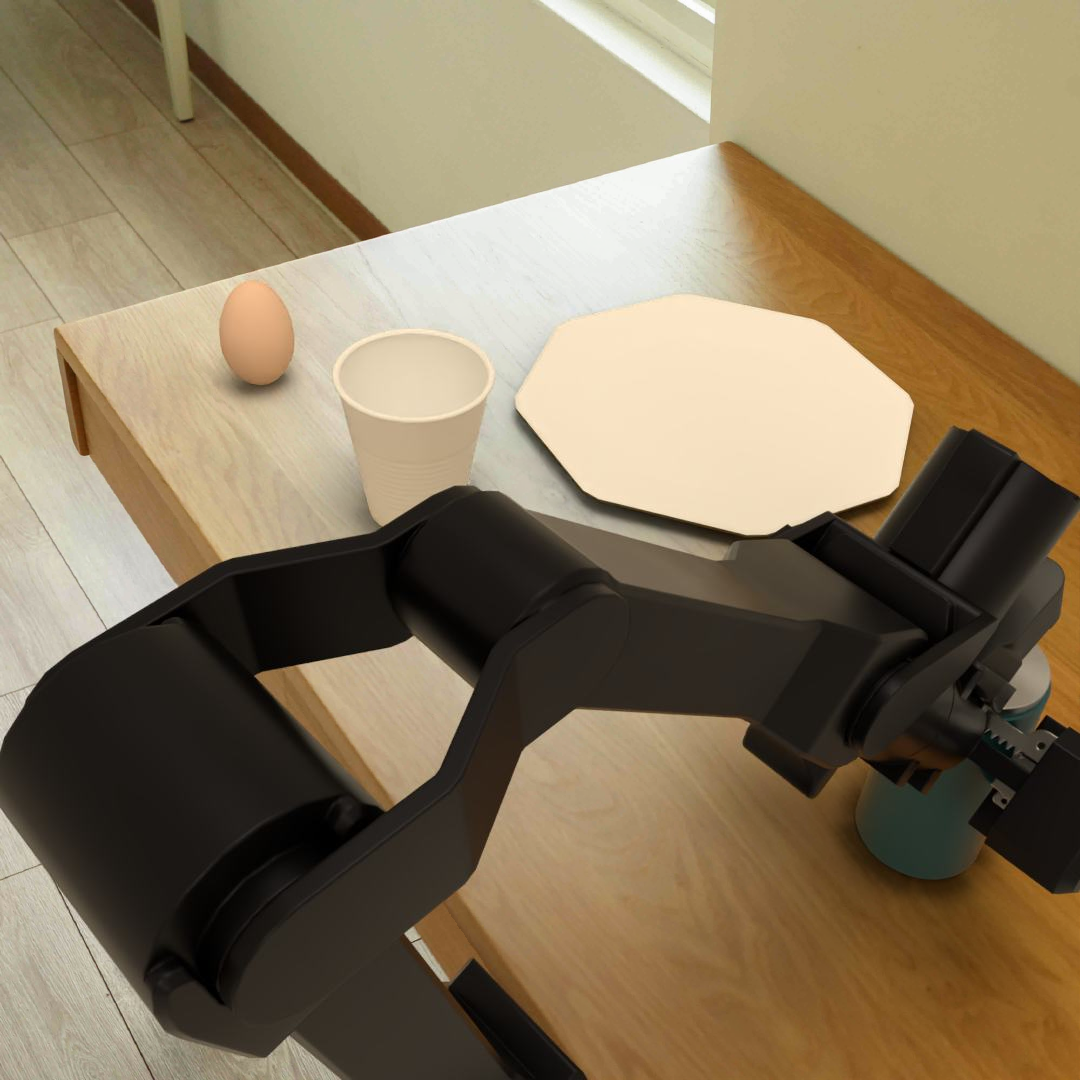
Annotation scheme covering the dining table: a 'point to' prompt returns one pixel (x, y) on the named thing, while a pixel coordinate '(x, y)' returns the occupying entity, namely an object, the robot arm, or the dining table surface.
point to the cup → (412, 413)
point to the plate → (716, 414)
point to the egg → (256, 333)
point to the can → (945, 795)
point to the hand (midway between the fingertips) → (965, 733)
